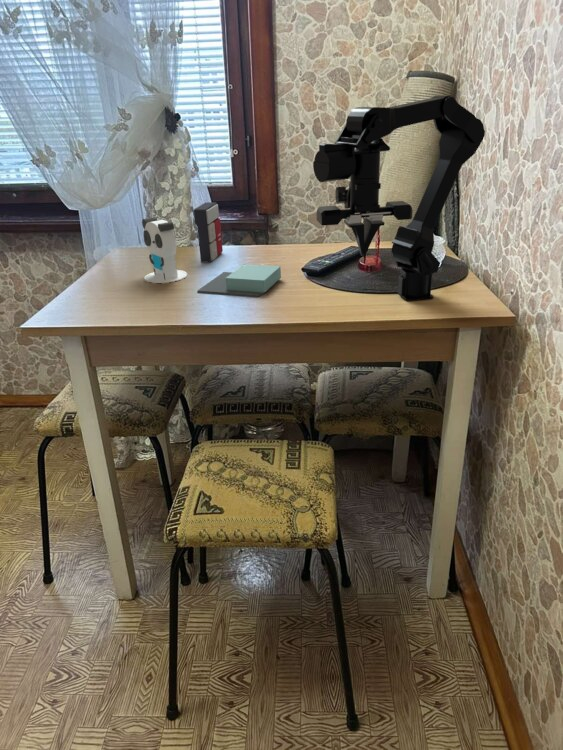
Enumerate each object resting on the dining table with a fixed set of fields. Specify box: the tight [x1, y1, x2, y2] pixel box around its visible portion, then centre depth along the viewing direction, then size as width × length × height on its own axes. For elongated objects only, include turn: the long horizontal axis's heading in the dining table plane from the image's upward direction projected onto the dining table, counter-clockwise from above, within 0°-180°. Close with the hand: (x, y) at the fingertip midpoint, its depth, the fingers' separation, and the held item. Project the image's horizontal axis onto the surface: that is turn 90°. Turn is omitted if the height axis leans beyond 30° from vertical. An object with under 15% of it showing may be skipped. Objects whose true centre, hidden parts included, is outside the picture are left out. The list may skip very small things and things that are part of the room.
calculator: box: [193, 201, 223, 263], centre depth 165 cm, size 11×4×15 cm, turn 168°
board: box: [226, 263, 282, 294], centre depth 142 cm, size 3×12×10 cm
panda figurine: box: [141, 216, 188, 284], centre depth 149 cm, size 12×11×15 cm
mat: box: [197, 271, 264, 298], centre depth 144 cm, size 16×16×1 cm
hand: (363, 254), depth 119 cm, fingers closed
